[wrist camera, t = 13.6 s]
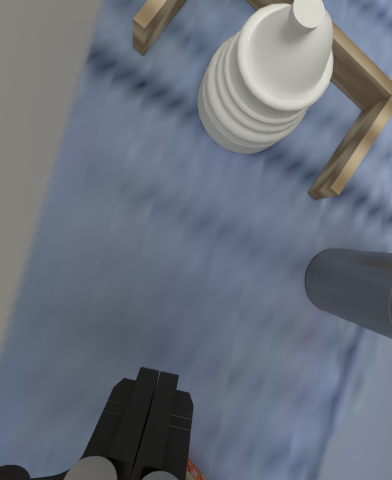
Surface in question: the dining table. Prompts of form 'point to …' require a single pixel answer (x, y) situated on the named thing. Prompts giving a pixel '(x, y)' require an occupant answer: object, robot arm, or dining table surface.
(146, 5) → the oak bay
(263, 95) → the honey pot
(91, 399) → the dining table surface
